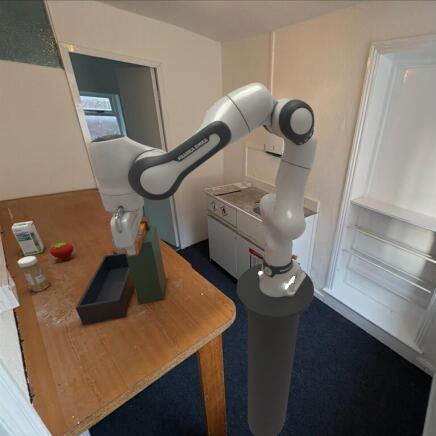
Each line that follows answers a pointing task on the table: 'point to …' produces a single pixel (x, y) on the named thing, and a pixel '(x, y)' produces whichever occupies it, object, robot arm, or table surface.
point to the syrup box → (27, 238)
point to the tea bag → (117, 248)
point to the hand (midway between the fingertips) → (135, 244)
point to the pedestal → (148, 269)
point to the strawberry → (62, 250)
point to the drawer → (107, 291)
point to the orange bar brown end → (138, 241)
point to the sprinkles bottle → (33, 273)
